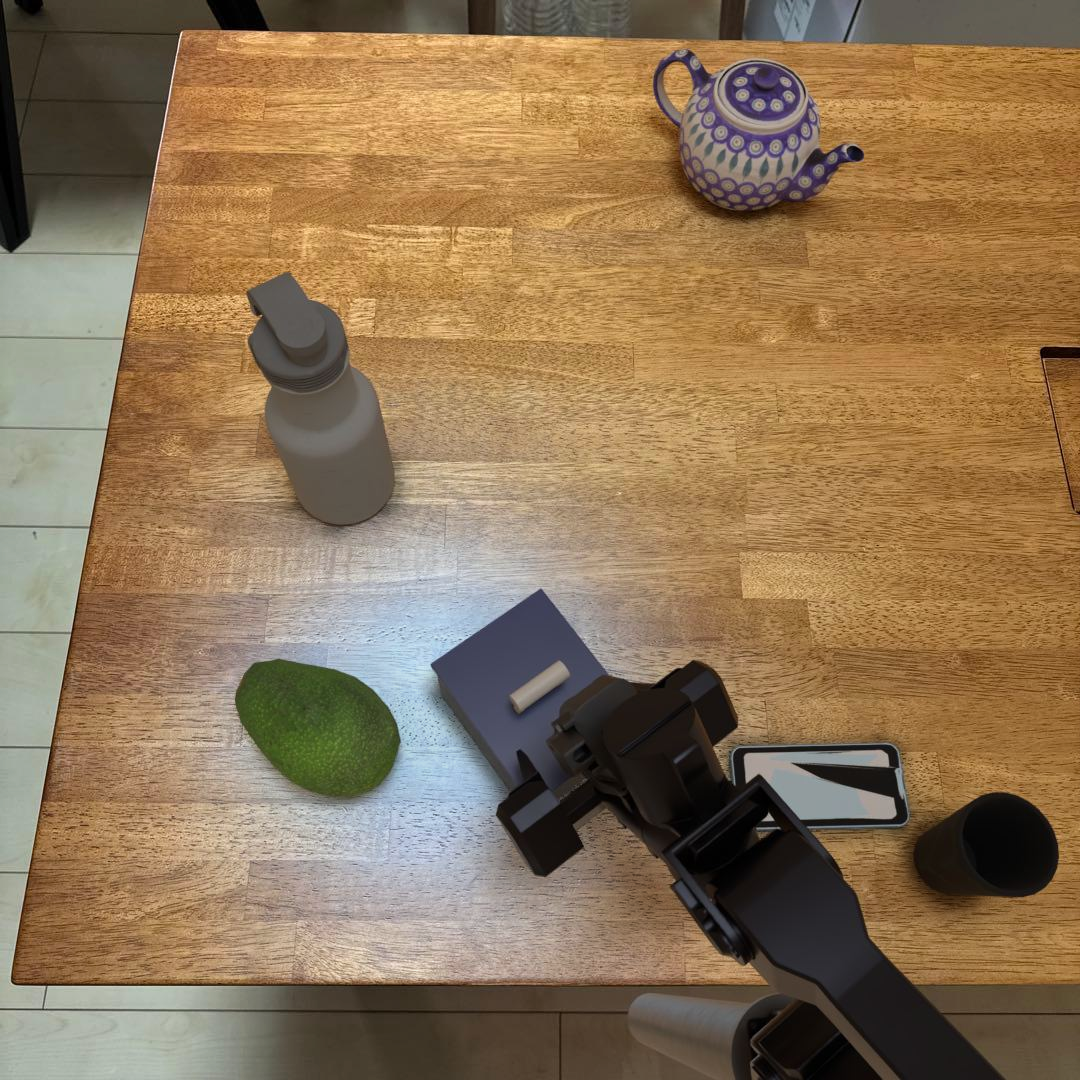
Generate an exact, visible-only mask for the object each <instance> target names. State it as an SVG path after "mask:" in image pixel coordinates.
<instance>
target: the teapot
mask: <svg viewBox="0 0 1080 1080" xmlns="http://www.w3.org/2000/svg"><path fill="white" fill-rule="evenodd" d="M673 63H682V64H683V65H684V66H685V67H686V69H687V71H688V72H689V74H690V77H691V85H692V91H691V95H690V96H689V98H688V101H687V102H686V105H685V107H684V109H683V112H681V111H680V110H679V109H678V108H677V107H675V105H674V104H673V102H672V101H671V100H670V98H669V96H668V94H667V91H666V87H665V83H664V80H665V79H664V78H665V72H666V70H668V68H669V66H670V65H672V64H673ZM652 92H653V96H654V99H655V101H656V103H657V105H658V107H659V109H660V110H661V111H662V113H663V114H664V115H665V116H666V117H667V119H668V120H670V122H672V123H673V124H674V126H676V127H677V128H678V130H679V132H678V151H679V159H680V163H681V167H682V170H683V172H684V174H685V176H686V178H687V180H688V181H689V183H690V184H691V185H692V187H693V188H694V189H695V190H696V192H698V193H699V194H701V196H702V197H704V198H705V199H706V200H708V201H710V202H711V203H713V204H714V205H716V206H719V208H724V209H727V210H732V211H755V210H764V209H766V208H769V207H772V206H774V205H776V204H779V203H782V202H787V203H790V204H797V203H804V202H807V201H810V200H813V199H814V198H815V197H817V196H818V195H819V194H820V193H822V191H823V190H824V189H825V188H826V187H827V185H828V184H829V183H830V182H831V180H832V178H833V177H834V175H836V173H837V171H838V170H839V169H840V168H841V167H842V166H843V165H845V164H849V163H859V162H862V161H863V160H864V159H865V153H864V150H863V149H862V148H861V147H860V146H859V145H858V144H856V143H853V142H845V143H842V144H839V145H837V146H835V147H834V148H832V149H831V150H830V151H828V152H823V151H822V150H821V147H820V134H821V127H822V126H821V119H820V107H819V105H818V104H817V102H816V100H815V99H814V97H813V96H812V94H811V93H810V92H809V90H808V88H807V86H806V83H805V82H804V80H803V79H802V77H801V75H800V74H798V73H797V72H796V71H795V70H793V69H792V68H790V67H789V66H787V65H786V64H784V63H781V62H778V61H776V60H772V59H768V58H763V57H762V58H761V57H751V58H744V59H740V60H738V61H735V62H733V63H731V64H729V65H727V66H726V67H724V68H721V69H719V70H717V71H716V72H713V73H710V72H708V71H707V70H706V68H705V67H704V65H703V63H702V62H701V60H700V59H699V58H698V56H697V55H696V54H695V53H694V52H693V51H692V50H690V49H688V48H681V49H677V50H675V51H673V52H671V53H669V54H667V55H666V56H664V57H663V58H662V59H661V60H659V61H658V64H657V65H656V67H655V68H654V73H653V77H652Z"/></svg>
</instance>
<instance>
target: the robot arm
mask: <svg viewBox="0 0 1080 1080" xmlns="http://www.w3.org/2000/svg"><path fill="white" fill-rule="evenodd" d="M551 725H552V727H553V729H554V733H553V735H552V736H550V737H549V738H548V739H546V743H547V746H548V747H549V749H550V750H551V752H552V754H553V755H554V757H555V758H556V760H557V761H558V763H559V764H560V766H561V768H562V769H563V770H564V771H565V773H566V774H567V775H569V776H570V777H573V778H575V777H576V776H577V775H579V774H580V773H582V774H583V775H584V776H585V778H586V779H585V781H584V782H583V783H582V784H581V785H579V786H578V787H576V788H575V789H573V791H571V792H569V794H567V795H566V796H564V797H563V798H562V799H560V800H559V799H557V798H556V796H555V795H554V794H553V792H552V791H551V790H550V788H549V787H548V786H547V785H546V783H545V782H544V780H543V778H542V776H541V774H540V773H539V771H537V770H536V768H535V767H534V765H533V763H532V762H531V760H530V759H529V757H528V756H527V754H525V753H524V752H523V751H522V750H521V749H519V750H518V751H516V755H517V759H518V763H519V768H520V772H521V784H519V785H518V786H517V787H515V788H514V789H513V790H511V791H509V793H508V795H507V798H505V799H504V800H502V801H501V802H500V803H499V804H498V805H497V809H496V812H495V817H496V819H497V820H498V822H499V823H500V825H501V827H502V828H503V830H504V831H505V834H506V835H507V836H508V838H509V840H510V841H511V843H512V845H513V846H514V848H515V849H516V852H517V854H518V855H519V856H520V858H521V859H522V861H523V862H524V865H526V867H527V868H528V869H529V871H530V872H531V873H532V874H533V875H534V876H535V877H540V878H547V877H549V876H550V875H551V874H552V873H554V872H555V871H556V870H558V869H559V868H560V867H561V866H563V865H564V864H566V862H568V861H569V860H570V859H571V858H573V857H574V856H576V855H577V854H579V852H581V851H582V850H584V849H585V844H584V843H583V840H582V839H581V837H580V835H579V834H578V830H580V829H581V828H582V827H584V826H585V825H586V824H588V823H589V822H590V821H591V820H593V819H594V818H595V817H597V816H598V815H600V813H602V812H603V811H604V810H605V809H607V810H608V811H609V812H610V813H611V814H612V815H613V816H614V818H615V819H616V821H617V822H618V824H619V825H620V826H621V827H622V828H623V829H625V830H626V829H628V830H629V831H630V833H632V834H633V835H634V836H635V837H636V838H638V839H639V840H640V841H641V843H643V844H644V845H645V847H646V850H648V852H649V854H651V855H652V856H653V857H654V858H655V859H656V860H658V859H659V860H661V861H662V862H663V863H664V865H666V867H667V870H668V871H669V873H670V875H671V876H672V878H673V879H674V880H675V881H674V882H672V883H671V884H670V885H668V887H669V888H670V890H671V891H672V893H673V894H674V896H676V898H677V899H678V901H679V902H680V903H681V905H682V906H683V907H684V908H685V910H686V912H687V913H688V914H689V915H690V917H691V918H692V920H693V921H694V922H695V924H696V925H697V926H698V928H699V930H701V932H702V934H704V936H705V937H706V938H707V940H708V941H709V943H710V944H711V945H712V947H713V948H714V949H715V951H717V953H718V954H719V955H720V956H722V957H723V956H724V957H729V958H731V959H733V960H734V961H735V962H736V963H737V964H738V965H740V966H741V967H745V966H747V965H748V964H749V965H750V966H751V967H752V968H753V969H754V970H755V971H756V972H757V974H759V976H761V978H762V979H763V980H764V981H765V982H766V983H767V984H768V985H769V987H771V988H772V990H774V991H775V992H776V993H782V994H785V995H788V996H790V997H793V998H796V999H795V1000H794V1001H793V1002H792V1003H791V1004H789V1005H788V1006H787V1007H786V1008H785V1009H779V1010H771V1012H770V1013H769V1014H770V1016H769V1017H759V1018H751V1019H749V1020H748V1021H747V1025H746V1026H747V1033H748V1039H749V1046H750V1053H751V1060H752V1061H751V1062H750V1067H751V1076H752V1080H1007V1079H1006V1078H1005V1077H1004V1076H1003V1075H1002V1073H1000V1072H999V1071H998V1069H997V1068H995V1067H994V1066H993V1064H991V1063H990V1062H989V1060H987V1058H986V1057H985V1056H984V1055H983V1053H981V1052H980V1051H979V1050H978V1049H977V1048H976V1047H975V1046H974V1045H973V1044H972V1043H971V1042H970V1040H968V1039H967V1038H966V1036H964V1034H962V1033H961V1032H960V1031H959V1030H958V1029H957V1028H956V1026H955V1025H954V1024H953V1023H952V1022H951V1021H950V1020H948V1018H947V1017H946V1016H945V1015H944V1014H943V1013H942V1012H941V1011H940V1010H939V1009H938V1008H937V1006H935V1005H934V1004H933V1003H932V1002H931V1000H929V999H928V998H927V997H926V996H925V995H924V993H923V992H922V991H921V990H919V988H918V987H916V986H915V984H914V983H913V982H912V981H911V980H910V979H909V978H908V977H907V976H906V975H905V974H904V973H903V972H902V971H901V970H900V969H899V968H898V967H897V966H896V965H895V964H894V963H893V961H891V959H889V957H888V956H887V955H886V954H885V953H884V952H883V951H882V950H881V949H880V947H879V946H877V944H876V943H875V942H874V941H873V939H871V938H870V934H869V932H868V929H867V925H866V921H865V918H864V913H863V910H862V907H861V904H860V900H859V897H858V894H857V893H856V891H855V889H854V888H853V887H852V886H851V885H850V884H849V883H848V882H847V881H846V879H844V873H843V872H842V869H841V867H840V865H839V863H838V862H837V861H836V859H835V858H834V856H833V855H832V854H831V853H830V852H829V850H828V849H827V848H826V846H824V845H823V843H821V841H820V840H819V839H818V837H816V836H815V834H814V833H813V832H812V830H809V829H808V828H807V827H806V825H805V824H804V823H803V822H802V821H801V820H800V819H799V817H798V816H797V815H796V814H795V813H794V812H793V811H792V809H791V808H790V807H789V806H788V805H787V804H786V803H785V801H784V800H783V799H782V798H781V797H780V796H779V795H778V793H777V792H776V791H775V790H774V789H773V788H772V787H771V785H770V784H769V783H768V782H767V781H766V780H765V779H764V777H763V776H762V775H760V774H757V775H756V776H755V777H754V778H752V779H751V780H750V781H749V782H747V783H746V784H745V785H744V786H742V787H741V788H740V789H739V788H738V787H736V786H735V785H734V784H732V781H731V780H729V779H728V778H727V775H726V773H725V771H724V768H723V766H722V764H721V762H720V760H719V758H718V755H717V753H716V751H715V749H714V747H715V746H717V745H718V744H720V743H721V742H722V741H723V740H725V739H726V738H727V737H728V736H730V735H731V734H733V732H735V731H736V730H737V729H738V728H739V716H738V714H737V711H736V709H735V707H734V704H733V702H732V700H731V697H730V695H729V693H728V690H727V688H726V685H725V683H724V680H723V678H722V677H721V676H720V675H719V673H718V672H717V670H716V669H715V668H713V667H712V666H710V665H708V664H706V663H705V662H703V661H702V660H695V659H692V660H690V662H688V663H686V664H685V665H684V666H683V667H676V668H674V669H673V670H672V671H670V672H668V673H667V674H666V675H664V676H663V677H662V678H660V679H659V680H658V681H656V682H654V683H653V682H652V683H650V682H648V683H647V682H635V681H630V680H628V679H625V678H621V677H617V676H613V675H610V674H609V675H602V676H600V677H598V678H597V679H595V680H594V681H593V682H592V683H591V684H590V685H588V686H587V687H585V688H584V689H583V690H581V691H580V692H579V693H577V694H576V695H574V696H573V697H571V698H569V699H568V700H566V701H565V702H564V703H563V704H562V706H561V708H560V711H559V718H557V719H556V720H555V721H553V722H552V723H551ZM768 812H769V814H770V815H771V816H772V818H773V819H774V821H775V822H776V823H777V825H778V826H779V827H780V829H781V830H780V829H778V828H777V829H772V830H771V831H768V832H767V833H766V834H765V835H764V836H763V837H761V838H760V836H759V833H758V831H757V829H756V825H757V824H759V823H760V822H761V821H762V820H764V819H765V818H766V817H767V816H768ZM751 1022H755V1024H756V1027H755V1028H751V1026H750V1025H751Z"/></svg>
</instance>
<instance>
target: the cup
mask: <svg viewBox="0 0 1080 1080" xmlns="http://www.w3.org/2000/svg"><path fill="white" fill-rule="evenodd" d="M912 854H913V865H914V868H915V870H916V872H917V875H918V876H919V878H920V879H921V881H923V883H924V884H925V885H926V886H928V888H930V889H931V890H933V891H935V892H936V893H939V894H943V895H948V896H951V895H952V896H973V897H996V898H998V897H999V898H1026V897H1030V896H1034V895H1036V894H1038V893H1039V892H1041V891H1042V890H1044V889H1046V888H1047V886H1048V885H1049V884H1050V883H1051V882H1052V881H1053V880H1054V876H1055V874H1056V873H1057V870H1058V868H1059V867H1058V866H1059V860H1060V849H1059V842H1058V838H1057V836H1056V832H1055V830H1054V828H1053V826H1052V825H1051V823H1050V821H1049V819H1048V818H1047V817H1046V816H1045V815H1044V813H1043V812H1042V811H1041V810H1040V808H1038V807H1037V806H1035V805H1034V804H1033V803H1032V802H1031V801H1029V800H1027V799H1025V798H1023V797H1022V796H1019V795H1017V794H1014V793H1011V792H1010V793H1009V792H1005V791H992V792H989V793H984V794H980V795H979V796H977V797H976V798H974V799H973V800H971V801H970V802H968V803H966V804H965V805H964V806H962V807H960V808H959V809H958V810H956V811H955V812H953V813H951V814H950V815H949V816H947V817H946V818H944V819H942V820H941V821H939V822H937V824H935V825H933V826H932V827H930V828H929V829H927V830H926V831H924V832H923V833H922V834H921V835H920V836H919V837H918V838H917V841H916V842H915V844H914V848H913V853H912Z"/></svg>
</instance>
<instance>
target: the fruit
mask: <svg viewBox="0 0 1080 1080" xmlns="http://www.w3.org/2000/svg"><path fill="white" fill-rule="evenodd" d="M234 704H235V708H236V712H237V715H238V718H239V720H240V724H241V725H242V726H243V728H244V729H245V731H246V732H247V734H248V735H249V737H250V738H251V739H252V741H253V742H254V744H255V746H257V749H259V751H260V752H261V753H262V755H263V756H264V757H265V758H266V759H267V760H268V762H269V763H270V764H271V765H272V766H273V767H274V769H275V770H276V771H278V772H279V773H280V774H281V775H282V776H284V777H285V778H286V779H287V780H289V781H290V782H291V783H292V784H295V785H297V786H298V787H300V788H302V789H305V790H307V791H309V792H311V793H315V794H319V795H322V796H327V797H331V798H354V797H358V796H361V795H364V794H366V793H368V792H369V791H372V790H373V789H375V788H377V787H379V786H380V785H381V784H382V783H383V782H384V780H385V779H387V777H388V776H389V774H390V772H391V771H392V769H393V767H394V766H395V763H396V758H397V755H398V752H399V748H400V746H401V741H402V740H401V735H400V732H399V731H400V730H399V727H398V723H397V721H396V718H395V717H394V715H393V713H392V711H391V709H390V707H389V705H387V704H386V703H385V701H384V700H383V699H382V698H381V697H380V696H379V694H377V693H376V691H375V690H374V689H373V688H372V687H370V686H369V685H368V684H366V683H364V682H363V681H362V680H361V679H359V678H358V677H356V676H355V675H352V674H350V673H349V674H348V673H346V672H343V671H342V670H341V671H340V670H338V669H336V668H335V669H334V668H330V667H325V666H319V665H315V664H308V663H302V662H298V661H292V660H287V659H283V658H276V659H271V660H262V661H256V662H253V663H252V664H251V666H249V668H248V669H247V670H246V671H245V672H244V673H243V675H242V677H241V680H240V682H239V683H238V686H237V688H236V690H235V695H234Z"/></svg>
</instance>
